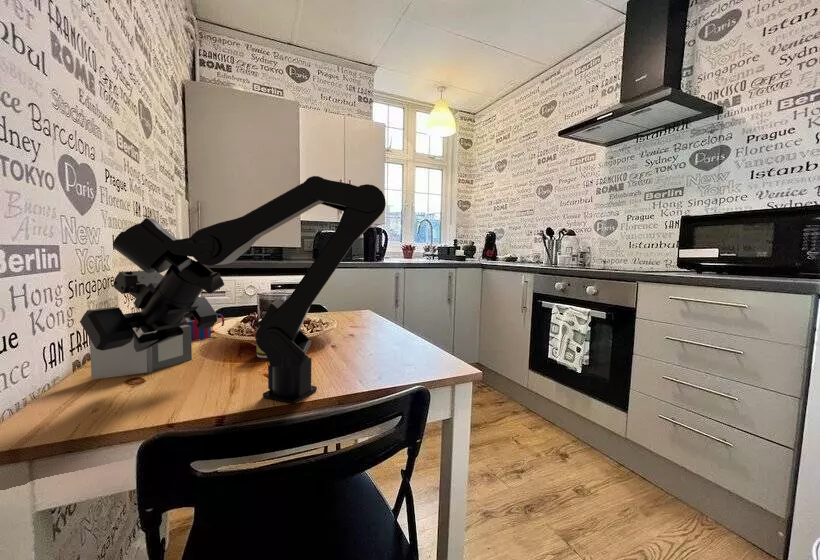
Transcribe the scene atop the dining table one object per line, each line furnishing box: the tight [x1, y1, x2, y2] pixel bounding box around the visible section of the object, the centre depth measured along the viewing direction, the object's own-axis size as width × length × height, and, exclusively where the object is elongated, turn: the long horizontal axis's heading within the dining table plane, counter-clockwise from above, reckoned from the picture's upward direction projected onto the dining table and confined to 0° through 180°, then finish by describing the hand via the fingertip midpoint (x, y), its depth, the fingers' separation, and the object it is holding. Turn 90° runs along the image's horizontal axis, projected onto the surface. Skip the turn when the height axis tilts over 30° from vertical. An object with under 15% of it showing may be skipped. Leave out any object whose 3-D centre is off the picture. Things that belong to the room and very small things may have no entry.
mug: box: [185, 313, 225, 341], centre depth 93 cm, size 7×10×7 cm
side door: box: [89, 338, 153, 380], centre depth 63 cm, size 9×1×8 cm, turn 121°
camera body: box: [152, 325, 193, 372], centre depth 71 cm, size 8×9×8 cm
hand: (137, 349), depth 60 cm, fingers closed
